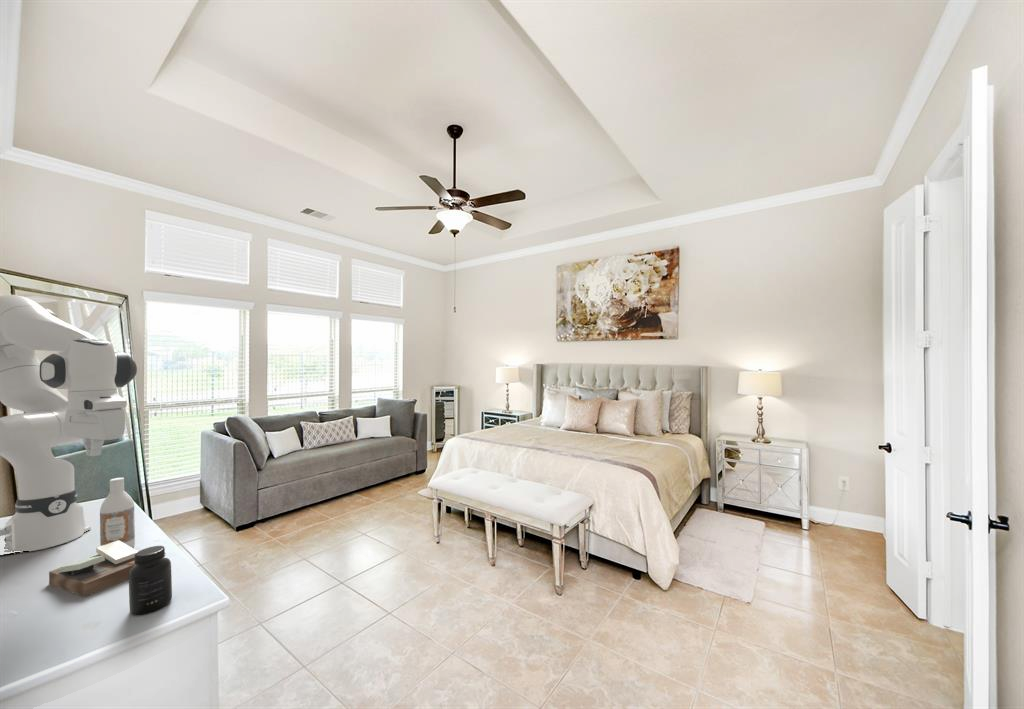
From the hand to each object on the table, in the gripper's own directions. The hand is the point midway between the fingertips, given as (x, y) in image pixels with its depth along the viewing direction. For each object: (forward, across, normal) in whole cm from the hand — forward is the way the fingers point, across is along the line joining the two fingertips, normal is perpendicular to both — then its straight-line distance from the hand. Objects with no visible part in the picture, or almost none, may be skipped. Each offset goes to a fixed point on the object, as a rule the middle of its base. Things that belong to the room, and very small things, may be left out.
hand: (93, 455), depth 104 cm
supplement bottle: (+29, +34, -5) cm, 45 cm away
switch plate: (+29, +7, -2) cm, 30 cm away
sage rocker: (+25, +7, -5) cm, 26 cm away
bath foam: (+29, -8, +8) cm, 31 cm away
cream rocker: (+25, +7, +1) cm, 26 cm away
